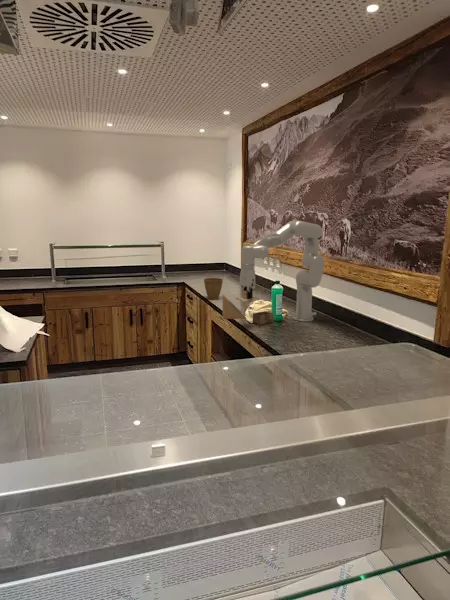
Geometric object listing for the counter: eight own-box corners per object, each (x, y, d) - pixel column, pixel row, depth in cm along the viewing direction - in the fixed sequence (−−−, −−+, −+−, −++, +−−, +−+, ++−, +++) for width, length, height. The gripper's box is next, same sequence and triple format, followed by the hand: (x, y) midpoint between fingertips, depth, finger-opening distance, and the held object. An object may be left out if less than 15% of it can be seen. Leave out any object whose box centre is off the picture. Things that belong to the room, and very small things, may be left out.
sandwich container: (247, 318, 271) (247, 295, 268) (223, 319, 270) (223, 296, 267) (245, 315, 280) (245, 293, 277) (222, 316, 278) (222, 293, 275)
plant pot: (201, 300, 329) (200, 280, 326) (208, 296, 343) (208, 277, 340) (218, 301, 324) (218, 281, 321) (225, 298, 338) (225, 278, 334)
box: (264, 320, 266) (265, 311, 265) (273, 323, 260) (273, 313, 258) (252, 322, 261) (252, 313, 259) (260, 325, 254) (260, 315, 253)
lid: (250, 299, 257) (250, 288, 256) (258, 301, 250) (259, 291, 249) (236, 300, 251) (236, 290, 250) (244, 303, 244) (244, 292, 243)
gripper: (234, 265, 251) (234, 296, 255) (251, 268, 238) (251, 300, 241) (244, 265, 255) (244, 294, 259) (262, 268, 242) (261, 299, 245)
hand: (247, 297), depth 250 cm, fingers closed on lid, 3 cm apart
